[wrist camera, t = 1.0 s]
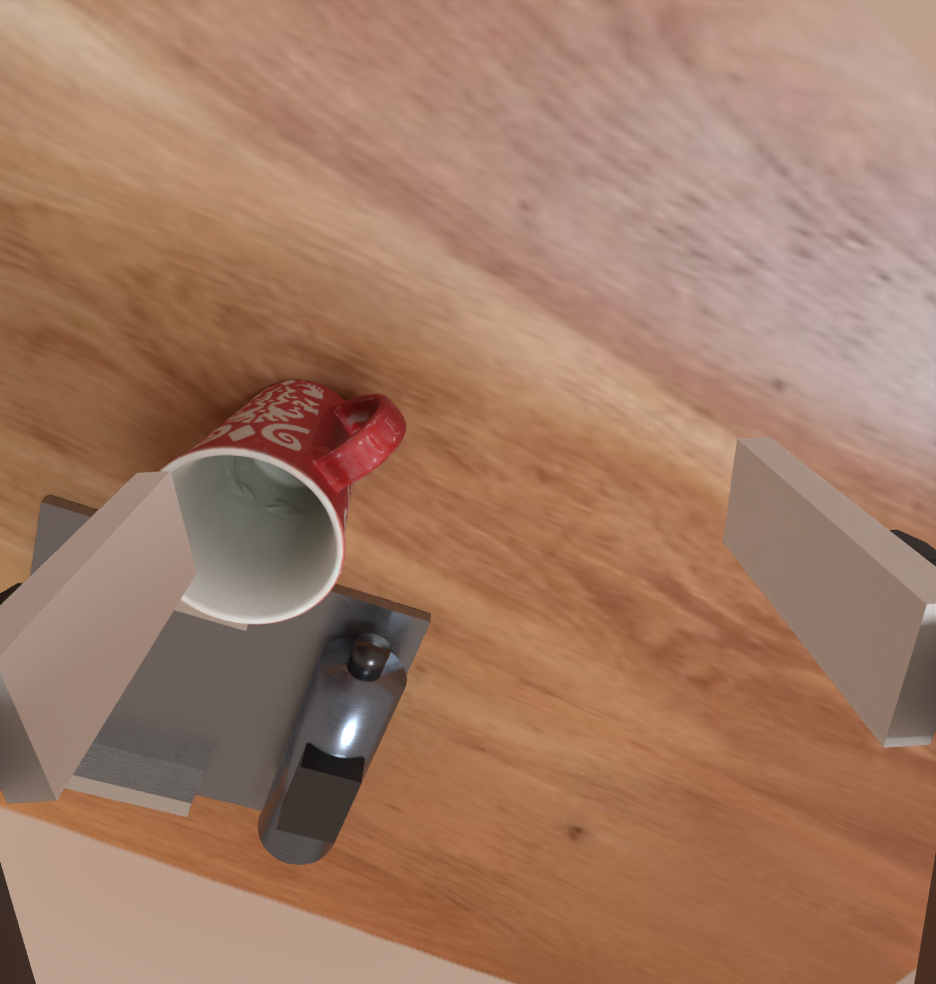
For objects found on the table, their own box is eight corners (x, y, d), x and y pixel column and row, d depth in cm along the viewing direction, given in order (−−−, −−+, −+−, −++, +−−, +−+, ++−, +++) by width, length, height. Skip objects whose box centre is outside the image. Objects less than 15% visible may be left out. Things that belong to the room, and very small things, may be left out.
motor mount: (12, 738, 51) (-66, 836, 43) (50, 495, 42) (-38, 563, 35) (338, 818, 55) (321, 920, 48) (430, 613, 47) (427, 697, 39)
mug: (287, 525, 44) (226, 656, 32) (197, 413, 41) (90, 510, 28) (451, 433, 42) (452, 535, 29) (370, 305, 38) (333, 361, 26)
